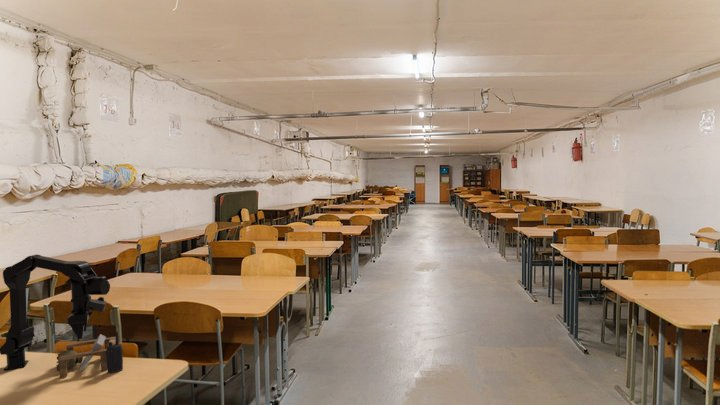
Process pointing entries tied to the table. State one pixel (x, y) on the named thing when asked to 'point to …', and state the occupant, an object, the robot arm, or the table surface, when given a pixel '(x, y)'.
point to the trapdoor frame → (84, 354)
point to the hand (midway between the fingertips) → (82, 334)
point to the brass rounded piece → (70, 362)
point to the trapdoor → (96, 346)
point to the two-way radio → (114, 356)
